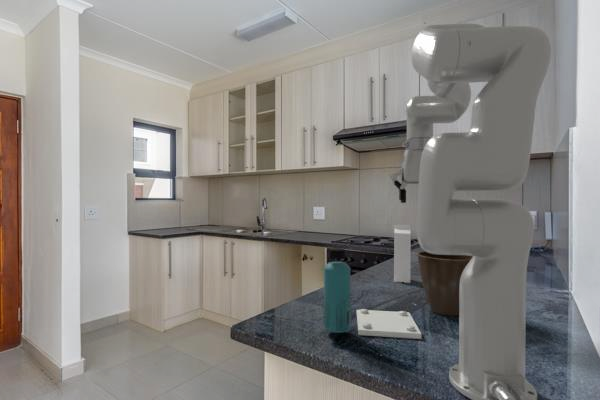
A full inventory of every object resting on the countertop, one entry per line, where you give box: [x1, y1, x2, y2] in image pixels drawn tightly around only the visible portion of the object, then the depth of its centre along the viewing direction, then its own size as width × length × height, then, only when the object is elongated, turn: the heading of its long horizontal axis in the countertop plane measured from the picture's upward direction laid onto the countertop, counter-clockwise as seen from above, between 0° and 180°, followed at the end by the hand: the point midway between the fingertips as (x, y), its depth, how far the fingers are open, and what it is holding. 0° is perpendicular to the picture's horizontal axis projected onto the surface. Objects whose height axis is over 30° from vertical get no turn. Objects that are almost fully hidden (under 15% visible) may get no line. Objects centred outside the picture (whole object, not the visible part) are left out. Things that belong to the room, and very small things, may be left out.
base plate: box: [356, 308, 422, 340], centre depth 80 cm, size 14×14×2 cm
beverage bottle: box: [323, 247, 352, 334], centre depth 75 cm, size 6×7×20 cm
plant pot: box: [417, 250, 473, 317], centre depth 91 cm, size 15×15×16 cm
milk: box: [393, 223, 412, 284], centre depth 125 cm, size 6×6×22 cm
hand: (419, 202), depth 96 cm, fingers open, 9 cm apart
